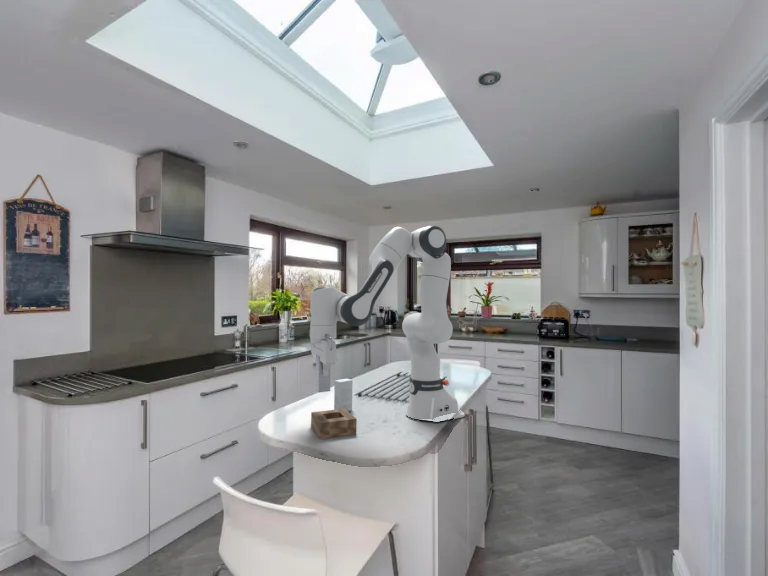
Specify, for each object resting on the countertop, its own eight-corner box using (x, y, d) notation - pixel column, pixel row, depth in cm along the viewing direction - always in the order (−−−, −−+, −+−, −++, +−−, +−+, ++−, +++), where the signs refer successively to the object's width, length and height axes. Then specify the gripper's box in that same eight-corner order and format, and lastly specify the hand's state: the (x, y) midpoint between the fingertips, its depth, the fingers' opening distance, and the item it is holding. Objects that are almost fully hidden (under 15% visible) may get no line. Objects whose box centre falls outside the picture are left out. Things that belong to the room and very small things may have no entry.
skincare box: (345, 408, 150) (346, 378, 151) (352, 410, 147) (353, 379, 148) (333, 411, 146) (334, 380, 147) (340, 413, 143) (340, 382, 144)
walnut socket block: (344, 422, 132) (344, 408, 133) (356, 434, 122) (356, 418, 122) (311, 427, 127) (311, 412, 128) (320, 439, 117) (320, 423, 117)
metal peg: (327, 388, 130) (327, 353, 130) (330, 391, 126) (330, 355, 126) (315, 389, 128) (315, 354, 129) (318, 392, 125) (318, 356, 125)
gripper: (341, 335, 119) (341, 379, 119) (324, 330, 138) (324, 367, 138) (322, 336, 117) (321, 381, 117) (307, 331, 136) (307, 369, 135)
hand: (323, 373), depth 127 cm, fingers closed on metal peg, 4 cm apart
